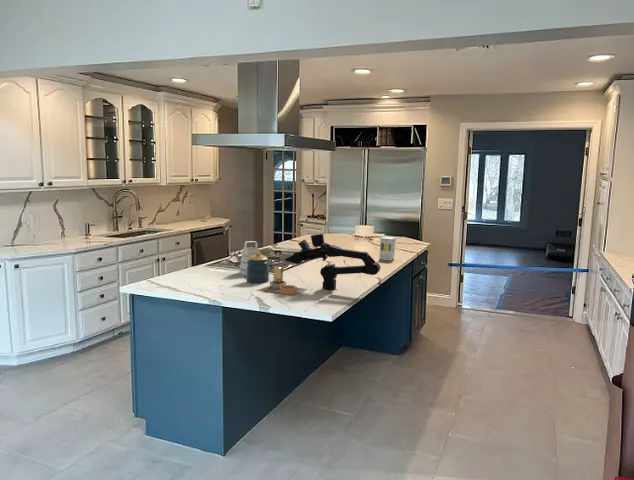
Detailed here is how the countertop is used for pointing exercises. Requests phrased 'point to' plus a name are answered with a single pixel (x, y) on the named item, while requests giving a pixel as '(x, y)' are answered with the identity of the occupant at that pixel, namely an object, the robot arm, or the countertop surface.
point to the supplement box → (387, 248)
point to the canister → (257, 269)
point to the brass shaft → (278, 274)
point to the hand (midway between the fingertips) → (288, 258)
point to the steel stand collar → (276, 285)
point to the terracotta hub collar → (288, 289)
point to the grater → (247, 256)
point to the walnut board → (277, 291)
